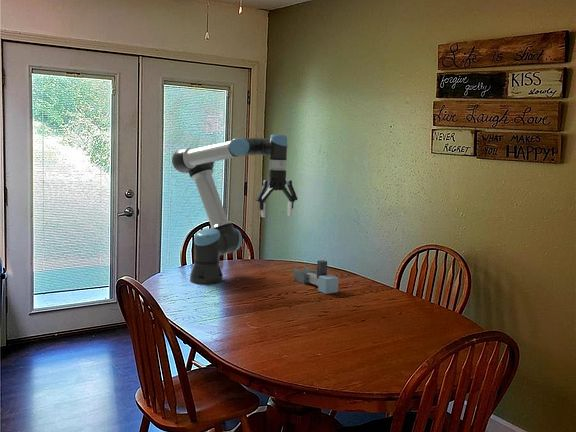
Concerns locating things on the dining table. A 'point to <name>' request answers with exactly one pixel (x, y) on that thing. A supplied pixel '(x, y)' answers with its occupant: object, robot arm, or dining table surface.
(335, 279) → the socket
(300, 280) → the open u-shaped channel
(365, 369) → the dining table surface
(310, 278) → the gray bent bar
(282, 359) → the dining table surface
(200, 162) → the robot arm
